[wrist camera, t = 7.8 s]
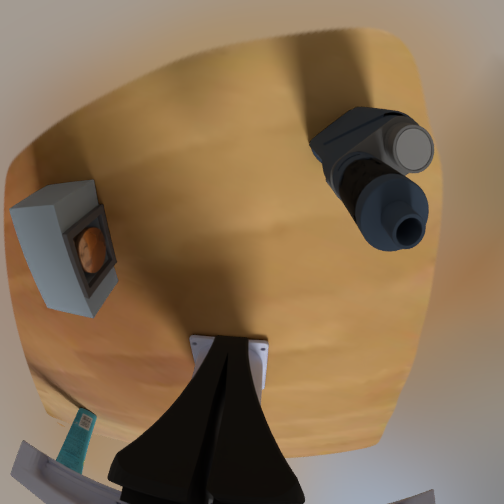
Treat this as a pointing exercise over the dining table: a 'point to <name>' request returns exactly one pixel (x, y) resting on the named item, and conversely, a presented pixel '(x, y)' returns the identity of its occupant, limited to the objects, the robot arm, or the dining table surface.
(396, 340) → the dining table surface
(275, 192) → the dining table surface
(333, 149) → the vaping device
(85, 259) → the peg
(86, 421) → the tube
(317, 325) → the dining table surface
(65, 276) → the sleeve block
